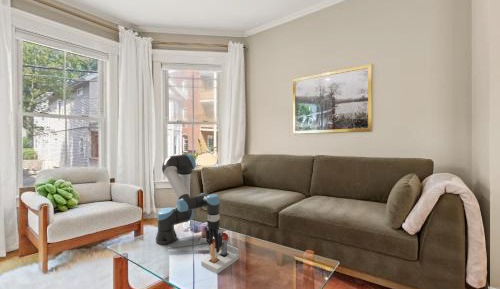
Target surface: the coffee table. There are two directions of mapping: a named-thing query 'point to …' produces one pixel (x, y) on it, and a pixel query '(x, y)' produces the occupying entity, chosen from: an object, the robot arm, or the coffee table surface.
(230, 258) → the housing
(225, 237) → the toy
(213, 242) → the orange pin
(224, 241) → the grey pin
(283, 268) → the coffee table surface
